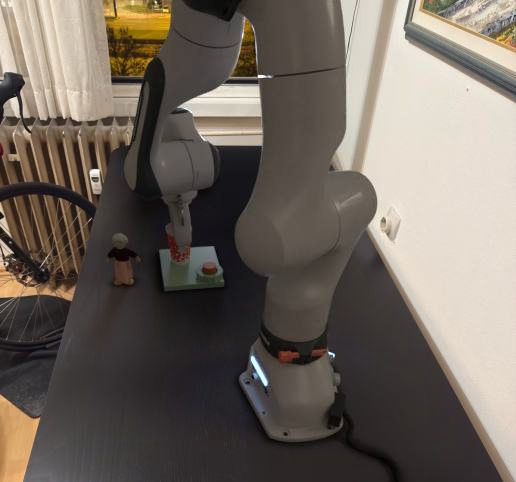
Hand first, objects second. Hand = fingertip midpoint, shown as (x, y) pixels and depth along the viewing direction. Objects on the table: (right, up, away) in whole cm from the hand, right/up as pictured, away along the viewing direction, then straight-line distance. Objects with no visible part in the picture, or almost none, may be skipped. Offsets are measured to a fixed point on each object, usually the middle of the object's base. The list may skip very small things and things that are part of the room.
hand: (180, 241), depth 115 cm
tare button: (+7, -7, -1) cm, 10 cm away
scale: (+2, -6, +3) cm, 7 cm away
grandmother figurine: (-12, -10, -2) cm, 16 cm away
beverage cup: (0, -4, +4) cm, 6 cm away
